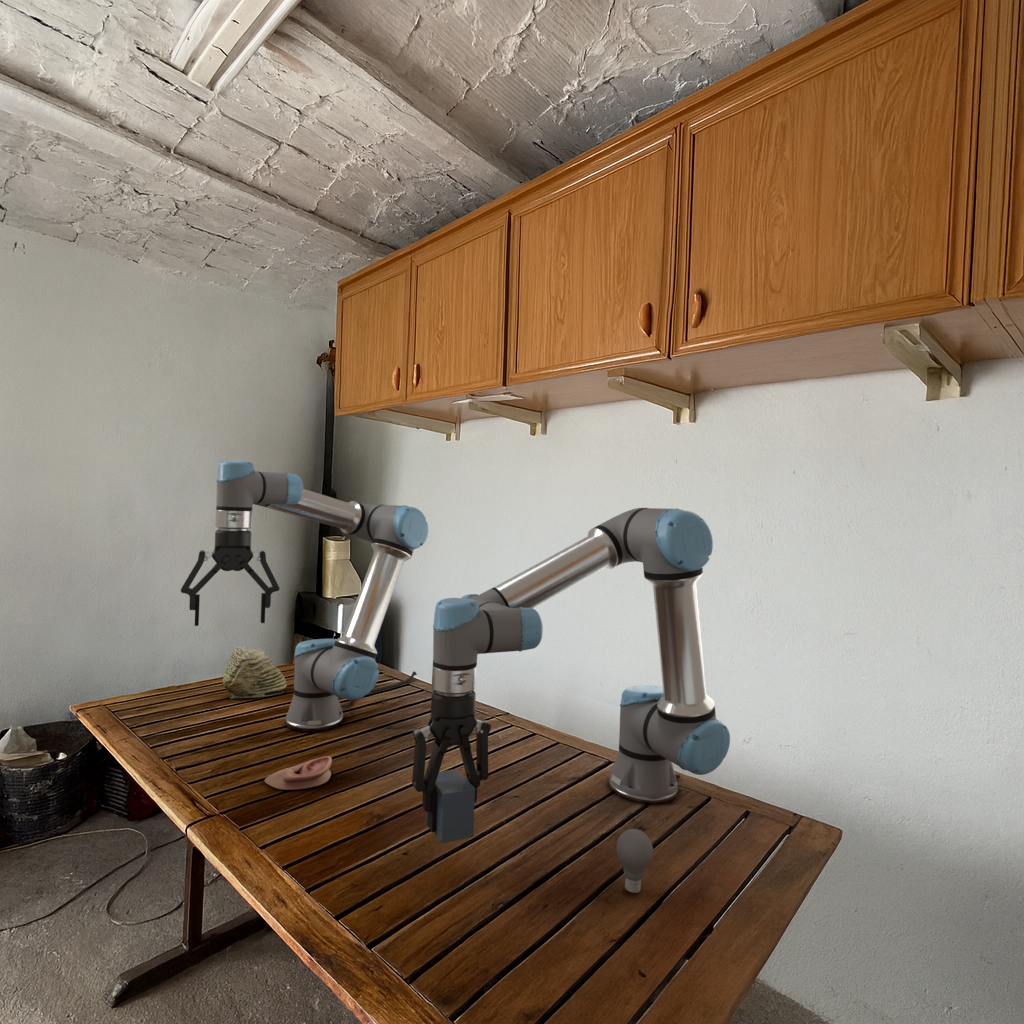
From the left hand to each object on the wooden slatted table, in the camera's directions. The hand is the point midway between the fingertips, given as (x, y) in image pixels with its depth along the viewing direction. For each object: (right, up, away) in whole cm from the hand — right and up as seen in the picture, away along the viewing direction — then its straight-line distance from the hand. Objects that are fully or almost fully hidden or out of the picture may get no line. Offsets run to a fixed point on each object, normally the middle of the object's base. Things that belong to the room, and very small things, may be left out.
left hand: (230, 623), depth 143 cm
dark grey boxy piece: (+53, -29, -35) cm, 69 cm away
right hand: (+53, -28, -35) cm, 69 cm away
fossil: (-17, -32, +55) cm, 66 cm away
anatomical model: (+16, -35, -2) cm, 38 cm away
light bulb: (+84, -38, -37) cm, 99 cm away
